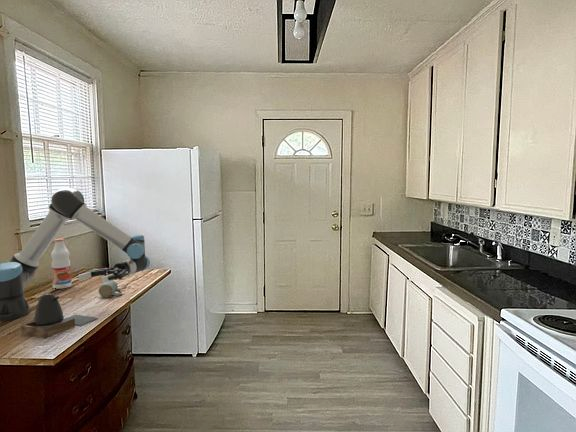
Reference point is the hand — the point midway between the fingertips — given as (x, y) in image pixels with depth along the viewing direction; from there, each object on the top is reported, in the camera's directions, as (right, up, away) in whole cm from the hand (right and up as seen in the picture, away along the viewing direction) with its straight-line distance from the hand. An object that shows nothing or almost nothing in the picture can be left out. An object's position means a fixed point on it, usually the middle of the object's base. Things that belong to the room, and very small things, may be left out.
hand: (90, 279), depth 170 cm
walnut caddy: (-8, -18, -16) cm, 26 cm away
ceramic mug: (-5, -14, +31) cm, 34 cm away
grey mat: (-2, -17, -6) cm, 18 cm away
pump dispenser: (-8, -18, -16) cm, 26 cm away
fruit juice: (-41, -13, +47) cm, 64 cm away
